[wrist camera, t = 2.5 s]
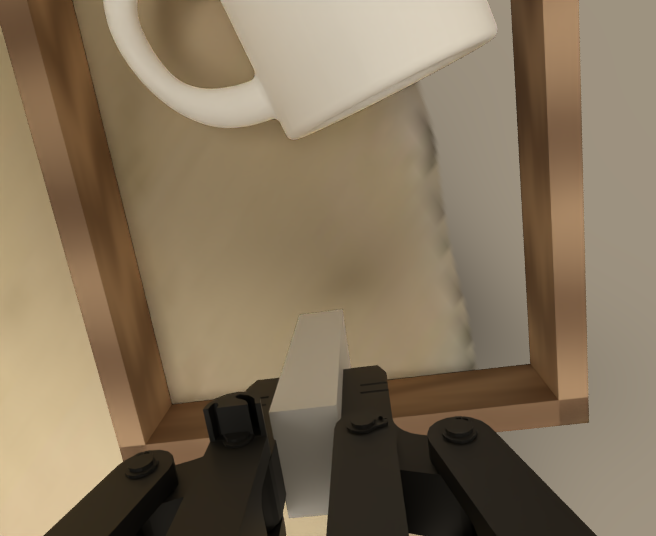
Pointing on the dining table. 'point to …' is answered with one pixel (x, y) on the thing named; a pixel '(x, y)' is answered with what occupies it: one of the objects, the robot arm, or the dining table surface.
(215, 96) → the mug
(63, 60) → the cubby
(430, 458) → the robot arm
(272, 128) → the dining table surface
